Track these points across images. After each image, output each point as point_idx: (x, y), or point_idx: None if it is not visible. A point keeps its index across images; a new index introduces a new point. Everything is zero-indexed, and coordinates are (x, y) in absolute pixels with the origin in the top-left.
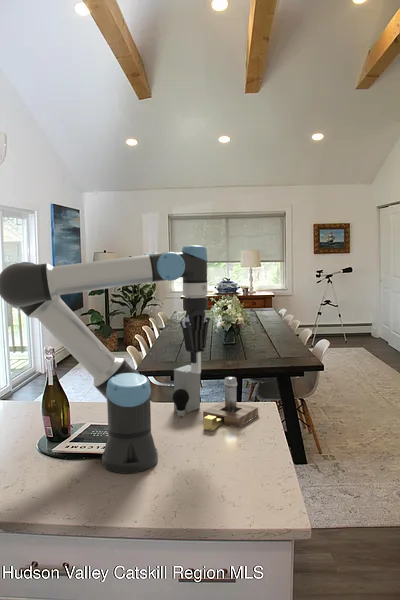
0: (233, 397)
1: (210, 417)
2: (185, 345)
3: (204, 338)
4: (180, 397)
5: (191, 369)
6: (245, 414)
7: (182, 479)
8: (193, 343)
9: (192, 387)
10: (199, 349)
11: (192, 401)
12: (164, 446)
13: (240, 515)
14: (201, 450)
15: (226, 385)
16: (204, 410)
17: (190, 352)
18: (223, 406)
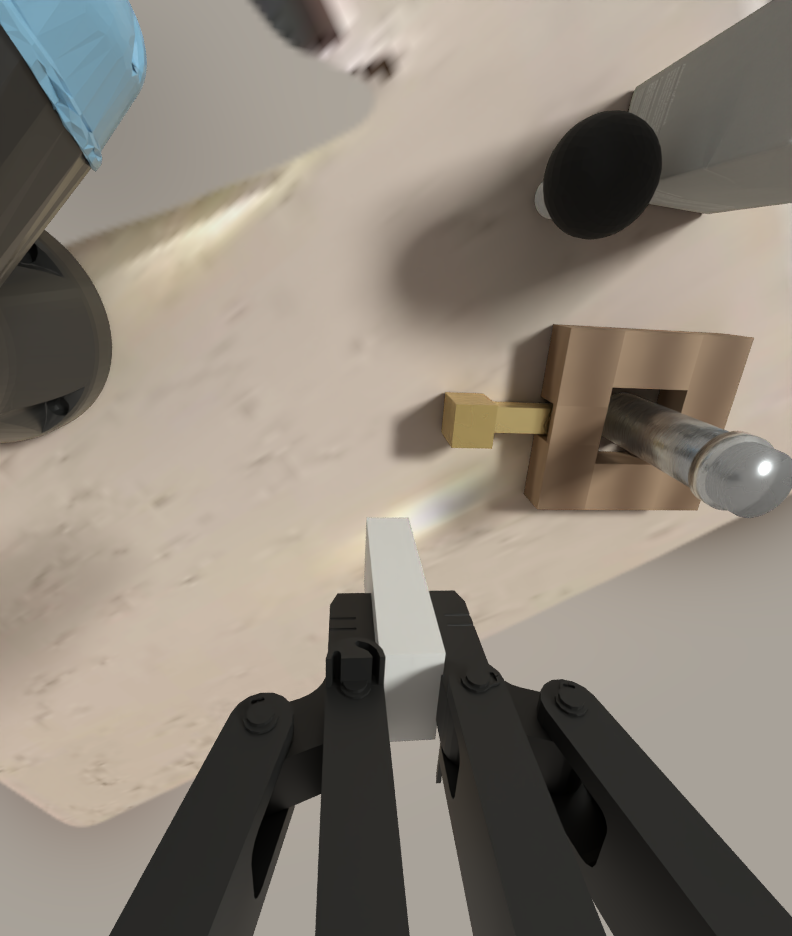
0: (661, 470)
1: (472, 429)
2: (193, 792)
3: (610, 924)
4: (559, 206)
5: (367, 535)
6: (593, 509)
7: (41, 560)
8: (256, 917)
9: (739, 188)
10: (439, 755)
11: (677, 200)
12: (202, 354)
13: (13, 744)
14: (260, 493)
15: (697, 465)
16: (583, 328)
17: (321, 687)
18: (667, 379)
